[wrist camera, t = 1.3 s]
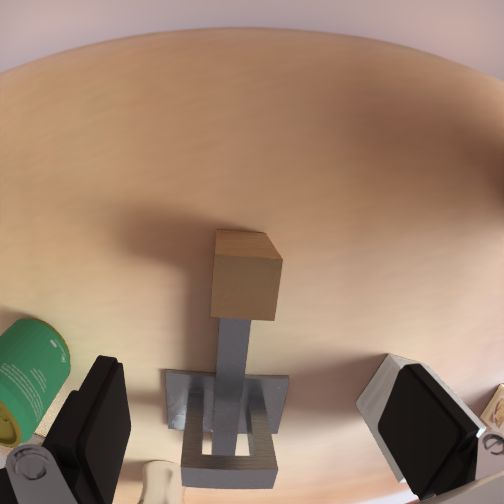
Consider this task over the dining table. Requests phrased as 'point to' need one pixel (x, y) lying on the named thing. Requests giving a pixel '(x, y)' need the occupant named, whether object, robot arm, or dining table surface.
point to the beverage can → (29, 377)
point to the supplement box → (378, 395)
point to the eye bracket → (250, 422)
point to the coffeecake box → (495, 411)
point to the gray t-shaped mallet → (238, 319)
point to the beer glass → (162, 484)
